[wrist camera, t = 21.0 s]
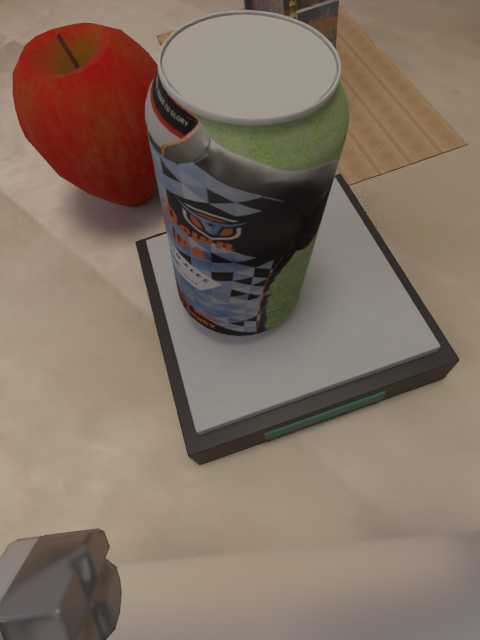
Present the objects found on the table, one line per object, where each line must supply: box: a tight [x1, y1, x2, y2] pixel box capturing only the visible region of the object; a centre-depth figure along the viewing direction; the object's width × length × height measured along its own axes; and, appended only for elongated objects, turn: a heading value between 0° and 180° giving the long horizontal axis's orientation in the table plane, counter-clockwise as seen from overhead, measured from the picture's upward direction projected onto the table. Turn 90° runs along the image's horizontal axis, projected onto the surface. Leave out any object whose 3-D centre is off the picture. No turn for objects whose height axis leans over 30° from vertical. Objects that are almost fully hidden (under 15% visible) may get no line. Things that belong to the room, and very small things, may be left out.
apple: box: [13, 23, 158, 206], centre depth 25 cm, size 9×8×11 cm
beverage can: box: [145, 10, 349, 336], centre depth 16 cm, size 6×7×12 cm
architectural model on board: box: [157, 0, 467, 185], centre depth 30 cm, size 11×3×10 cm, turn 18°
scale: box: [136, 174, 459, 465], centre depth 23 cm, size 13×13×3 cm
